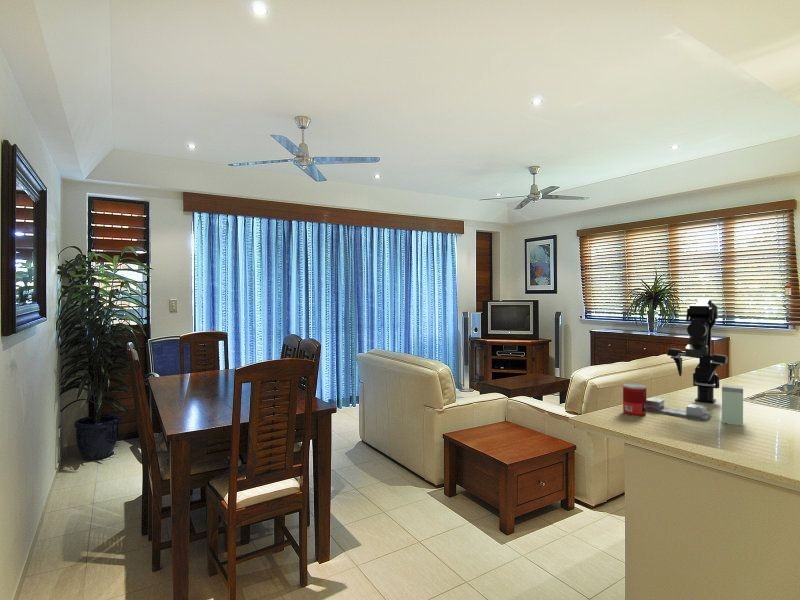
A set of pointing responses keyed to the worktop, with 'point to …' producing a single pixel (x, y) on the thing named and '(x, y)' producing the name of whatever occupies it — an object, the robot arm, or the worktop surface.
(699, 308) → the robot arm
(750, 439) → the worktop surface
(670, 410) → the rail
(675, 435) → the worktop surface
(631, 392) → the canned food
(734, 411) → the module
